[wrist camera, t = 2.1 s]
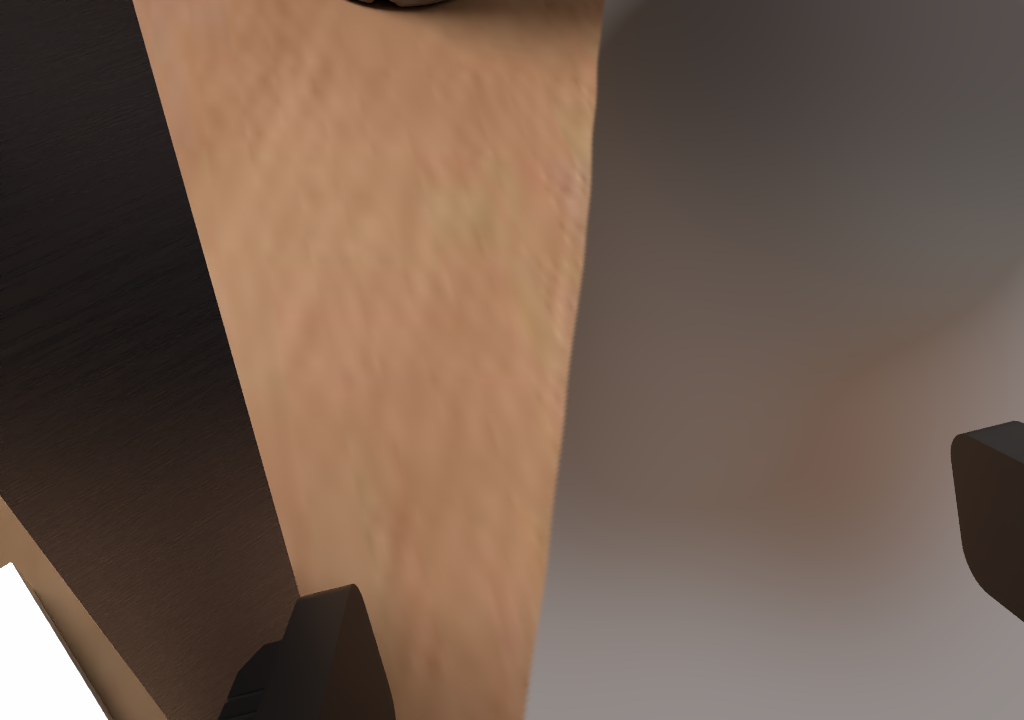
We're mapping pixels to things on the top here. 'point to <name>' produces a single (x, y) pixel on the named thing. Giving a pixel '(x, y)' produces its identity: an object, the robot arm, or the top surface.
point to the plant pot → (409, 2)
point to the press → (119, 386)
